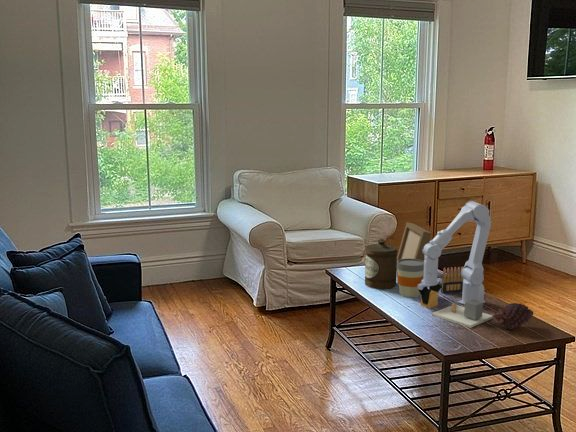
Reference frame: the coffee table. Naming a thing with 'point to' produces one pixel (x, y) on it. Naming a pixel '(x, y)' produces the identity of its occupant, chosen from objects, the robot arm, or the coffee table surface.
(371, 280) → the wooden container
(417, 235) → the photo frame
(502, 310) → the pine cone
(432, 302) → the amber foam cube
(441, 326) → the coffee table surface
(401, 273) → the reusable coffee cup
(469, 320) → the board
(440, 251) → the robot arm
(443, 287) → the ammunition clip
